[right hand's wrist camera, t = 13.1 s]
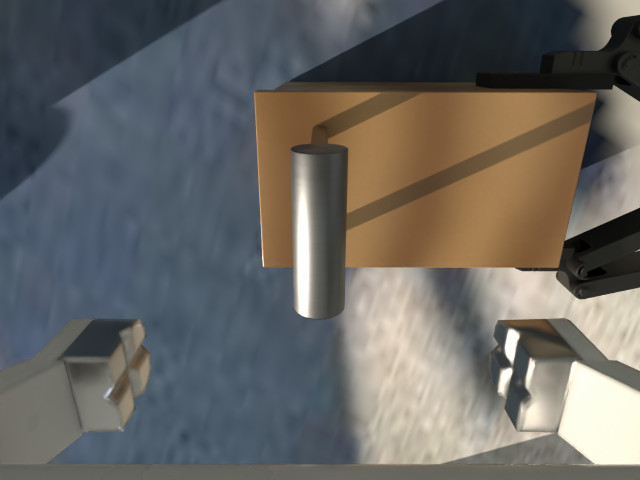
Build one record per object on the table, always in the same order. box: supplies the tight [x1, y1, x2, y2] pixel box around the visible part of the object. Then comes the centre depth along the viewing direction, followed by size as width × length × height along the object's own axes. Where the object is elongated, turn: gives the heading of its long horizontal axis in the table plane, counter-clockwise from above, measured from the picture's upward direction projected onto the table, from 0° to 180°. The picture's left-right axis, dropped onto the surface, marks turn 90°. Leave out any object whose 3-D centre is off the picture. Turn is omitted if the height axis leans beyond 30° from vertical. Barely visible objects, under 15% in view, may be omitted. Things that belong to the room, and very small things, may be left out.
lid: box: [254, 90, 597, 319], centre depth 20 cm, size 16×9×9 cm, turn 90°
